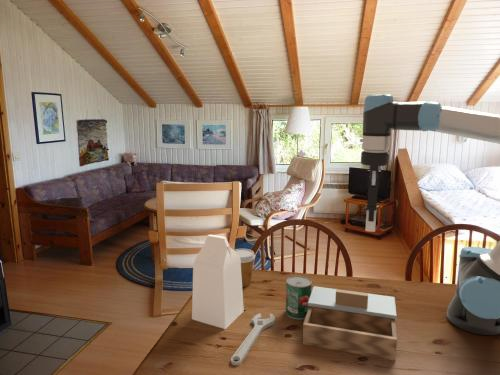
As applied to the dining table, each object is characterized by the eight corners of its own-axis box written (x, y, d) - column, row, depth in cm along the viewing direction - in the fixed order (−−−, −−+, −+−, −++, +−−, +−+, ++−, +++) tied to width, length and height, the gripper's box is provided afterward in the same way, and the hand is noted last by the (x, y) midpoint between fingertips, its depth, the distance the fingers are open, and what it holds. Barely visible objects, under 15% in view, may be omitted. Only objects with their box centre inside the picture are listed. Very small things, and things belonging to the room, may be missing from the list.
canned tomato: (287, 305, 127) (287, 274, 125) (311, 308, 126) (312, 276, 124) (284, 318, 120) (285, 285, 117) (310, 321, 118) (311, 287, 116)
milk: (243, 311, 124) (243, 233, 119) (225, 329, 114) (224, 245, 109) (212, 302, 129) (210, 228, 124) (191, 319, 119) (189, 239, 114)
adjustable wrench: (238, 368, 97) (238, 362, 97) (217, 361, 100) (216, 355, 100) (277, 320, 119) (277, 315, 119) (258, 315, 122) (258, 310, 122)
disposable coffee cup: (249, 276, 150) (249, 246, 147) (259, 286, 141) (259, 255, 139) (226, 280, 146) (225, 250, 144) (234, 290, 138) (234, 259, 135)
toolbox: (393, 337, 110) (394, 317, 109) (395, 360, 99) (397, 339, 98) (308, 323, 117) (309, 305, 116) (302, 344, 107) (303, 324, 105)
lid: (394, 299, 118) (395, 284, 117) (396, 318, 107) (397, 302, 106) (313, 288, 125) (314, 274, 124) (307, 305, 115) (308, 290, 114)
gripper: (362, 148, 116) (357, 223, 121) (360, 152, 104) (356, 236, 109) (388, 148, 114) (383, 225, 119) (390, 153, 102) (384, 238, 107)
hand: (370, 230), depth 114 cm, fingers closed
